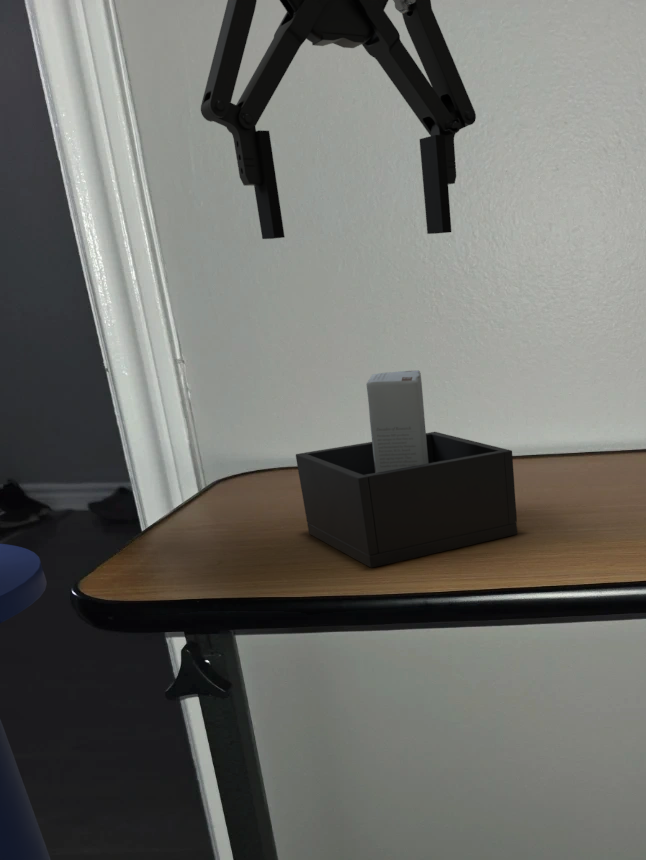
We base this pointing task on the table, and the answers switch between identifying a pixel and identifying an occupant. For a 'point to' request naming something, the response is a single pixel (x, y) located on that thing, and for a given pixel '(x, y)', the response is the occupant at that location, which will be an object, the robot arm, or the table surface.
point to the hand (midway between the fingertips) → (360, 236)
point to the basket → (408, 499)
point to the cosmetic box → (397, 420)
